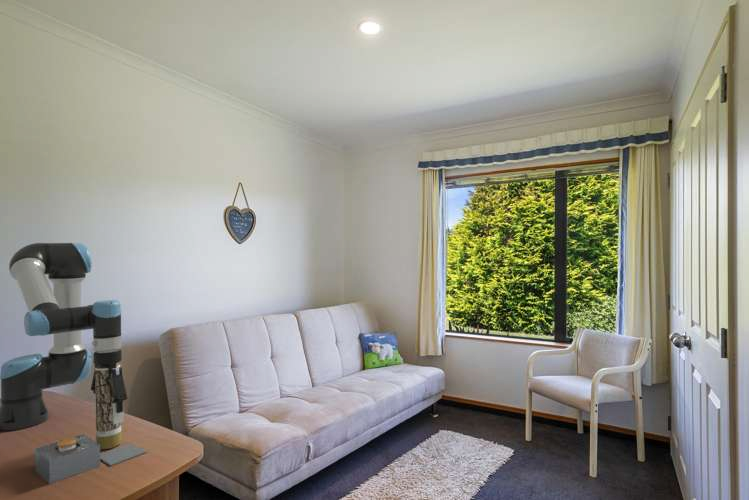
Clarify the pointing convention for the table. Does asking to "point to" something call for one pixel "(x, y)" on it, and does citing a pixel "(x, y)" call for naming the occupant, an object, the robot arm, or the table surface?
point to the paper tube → (105, 411)
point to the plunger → (67, 444)
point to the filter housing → (66, 459)
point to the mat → (121, 454)
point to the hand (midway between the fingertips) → (108, 418)
